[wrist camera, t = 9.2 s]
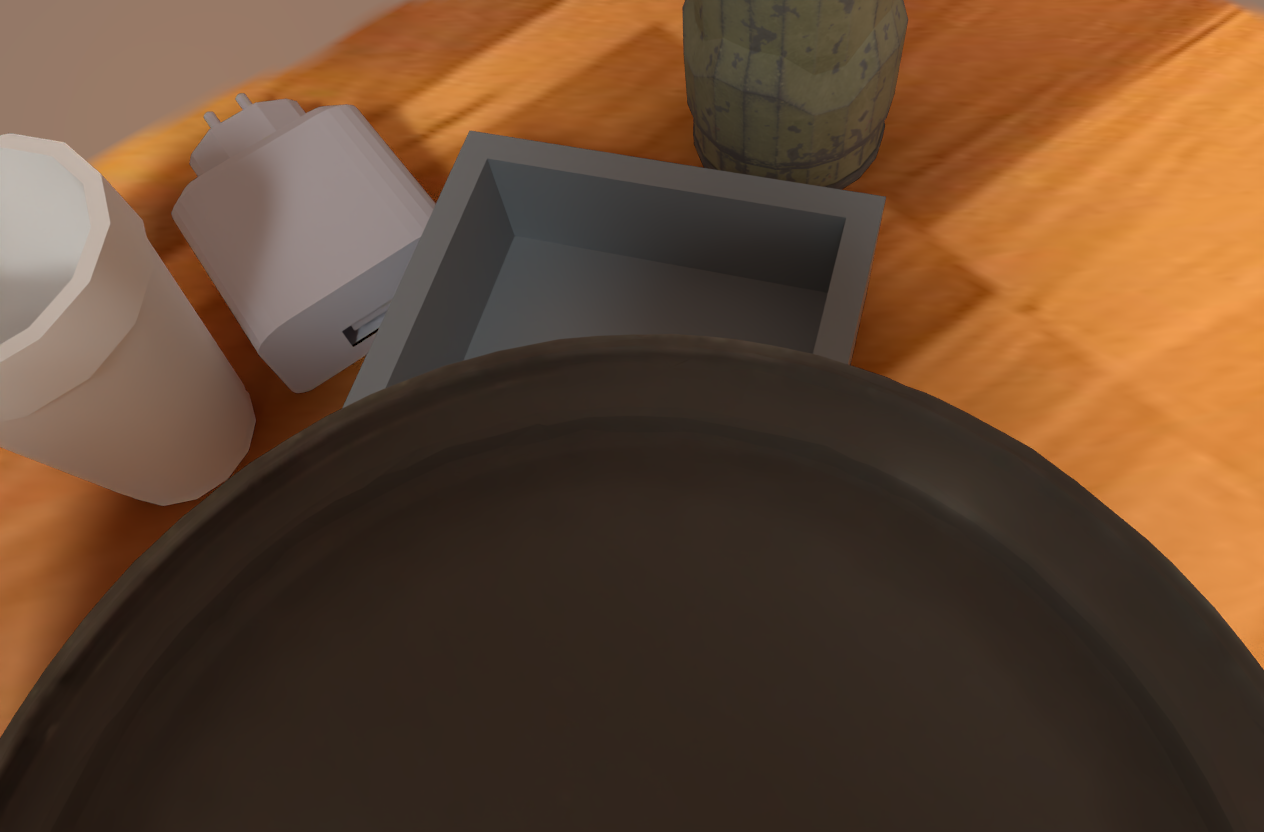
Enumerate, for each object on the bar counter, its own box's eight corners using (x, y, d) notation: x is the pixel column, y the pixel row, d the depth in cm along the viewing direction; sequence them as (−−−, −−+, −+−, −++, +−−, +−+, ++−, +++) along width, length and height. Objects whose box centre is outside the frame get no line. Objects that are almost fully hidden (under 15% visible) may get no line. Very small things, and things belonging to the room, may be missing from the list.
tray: (361, 561, 37) (297, 506, 32) (503, 223, 44) (469, 130, 38) (780, 674, 34) (786, 634, 28) (867, 288, 40) (886, 196, 35)
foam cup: (237, 302, 44) (51, 89, 32) (329, 450, 40) (156, 269, 28) (43, 420, 42) (-227, 240, 30) (120, 587, 38) (-156, 454, 26)
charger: (327, 94, 49) (481, 284, 43) (165, 189, 47) (301, 401, 41) (288, 19, 45) (452, 217, 39) (108, 120, 43) (249, 345, 37)
